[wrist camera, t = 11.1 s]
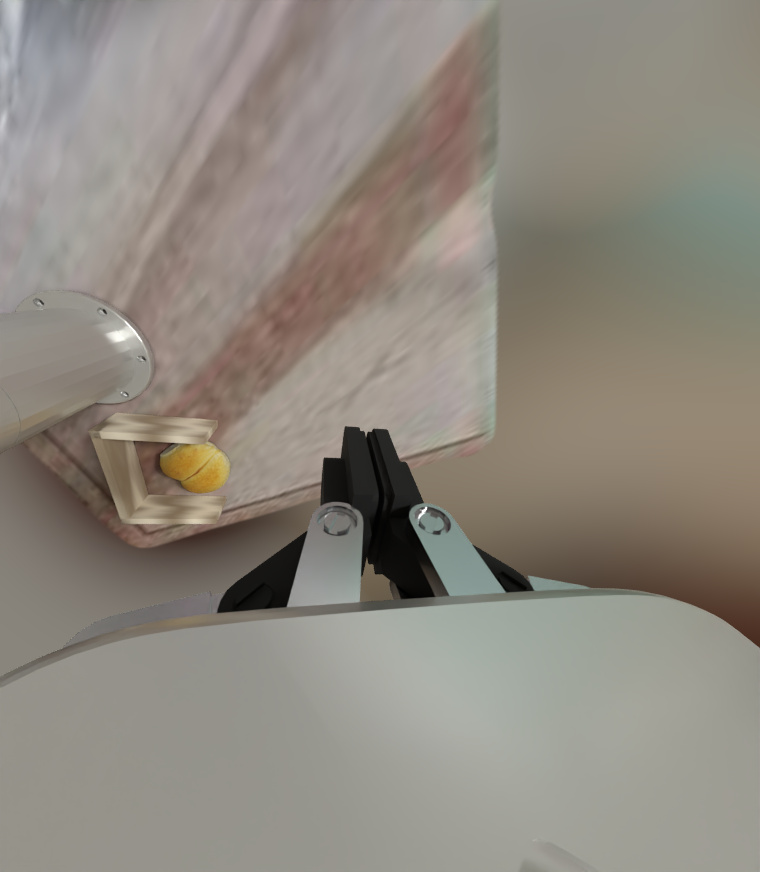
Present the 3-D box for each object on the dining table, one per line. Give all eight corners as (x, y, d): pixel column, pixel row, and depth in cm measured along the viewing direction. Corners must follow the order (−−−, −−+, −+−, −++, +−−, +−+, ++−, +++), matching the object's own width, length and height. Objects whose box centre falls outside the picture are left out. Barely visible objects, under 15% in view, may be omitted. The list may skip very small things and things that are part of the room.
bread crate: (142, 499, 43) (122, 523, 39) (116, 412, 36) (88, 430, 32) (226, 500, 46) (216, 523, 42) (217, 420, 39) (203, 437, 35)
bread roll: (204, 492, 45) (193, 509, 41) (155, 453, 40) (139, 470, 37) (245, 468, 44) (238, 484, 41) (200, 426, 39) (188, 440, 36)
